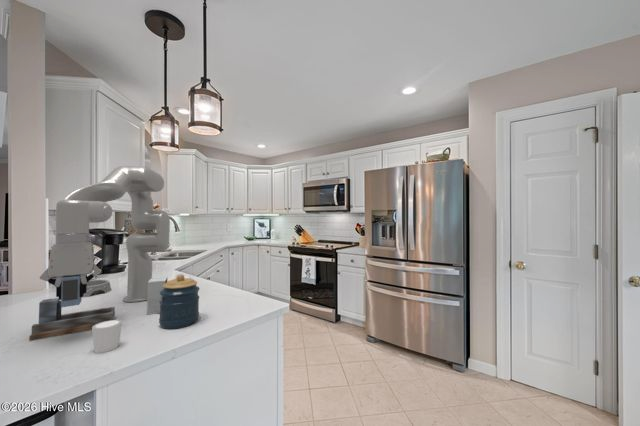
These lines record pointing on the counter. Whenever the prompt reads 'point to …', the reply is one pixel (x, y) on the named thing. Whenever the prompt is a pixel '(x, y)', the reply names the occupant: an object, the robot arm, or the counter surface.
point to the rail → (66, 320)
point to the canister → (179, 303)
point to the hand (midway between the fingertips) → (71, 296)
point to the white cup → (106, 335)
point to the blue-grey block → (70, 291)
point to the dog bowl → (97, 287)
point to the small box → (154, 294)
